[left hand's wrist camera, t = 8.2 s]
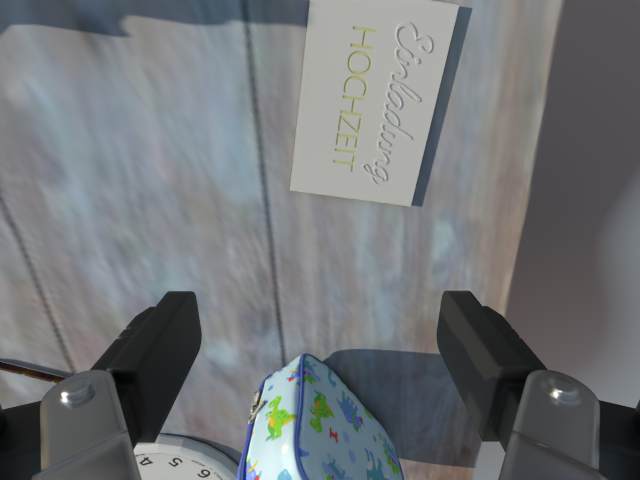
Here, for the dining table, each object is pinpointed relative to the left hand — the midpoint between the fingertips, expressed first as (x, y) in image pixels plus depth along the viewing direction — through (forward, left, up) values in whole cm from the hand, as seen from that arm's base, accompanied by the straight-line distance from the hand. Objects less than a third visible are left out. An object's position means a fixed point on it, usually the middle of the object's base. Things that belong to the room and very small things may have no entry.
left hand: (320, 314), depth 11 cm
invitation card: (-8, 0, -32) cm, 33 cm away
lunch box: (+29, +25, -32) cm, 50 cm away
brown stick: (+52, -14, -32) cm, 62 cm away
